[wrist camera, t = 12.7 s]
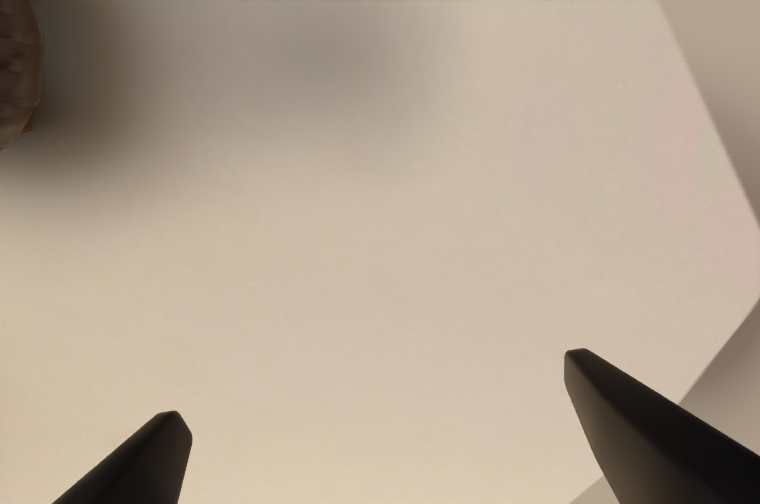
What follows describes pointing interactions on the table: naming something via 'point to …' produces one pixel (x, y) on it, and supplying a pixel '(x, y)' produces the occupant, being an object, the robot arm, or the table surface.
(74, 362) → the table surface
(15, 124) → the ring
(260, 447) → the table surface
